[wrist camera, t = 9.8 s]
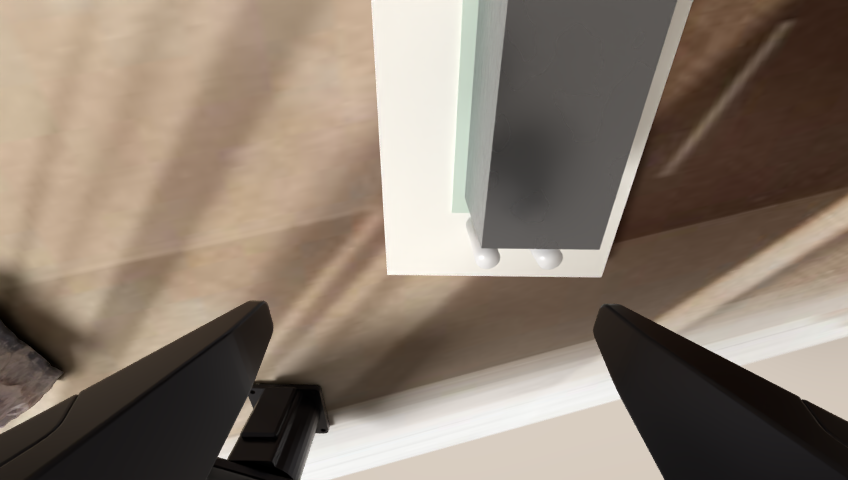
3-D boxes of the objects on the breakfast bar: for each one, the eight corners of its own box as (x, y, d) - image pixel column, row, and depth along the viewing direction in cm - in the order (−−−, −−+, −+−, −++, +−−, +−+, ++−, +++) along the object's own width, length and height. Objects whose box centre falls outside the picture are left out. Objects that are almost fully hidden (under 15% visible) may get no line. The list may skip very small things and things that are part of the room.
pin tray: (590, 265, 21) (639, 319, 16) (389, 262, 21) (378, 316, 16) (721, -167, 12) (926, -341, 7) (367, -167, 12) (325, -340, 7)
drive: (546, 198, 17) (599, 249, 12) (464, 197, 17) (481, 248, 12) (586, -2, 13) (696, -61, 8) (479, -3, 13) (514, -62, 8)
